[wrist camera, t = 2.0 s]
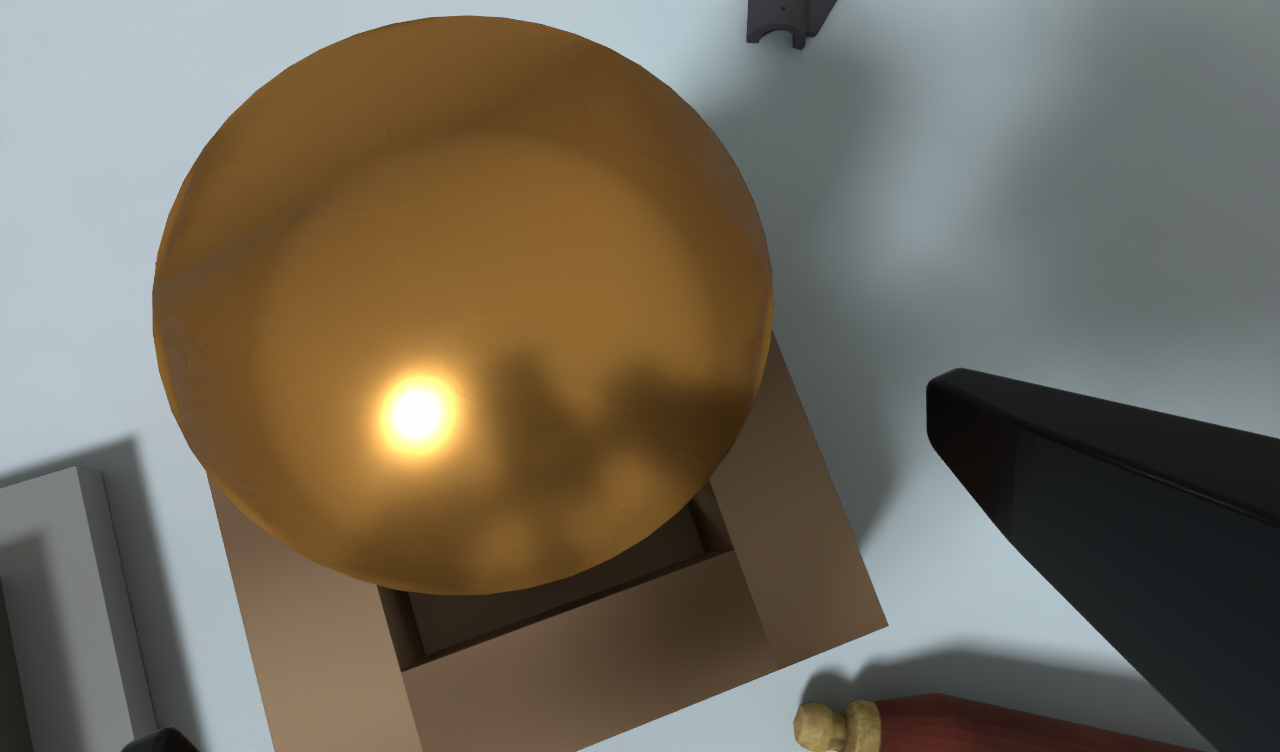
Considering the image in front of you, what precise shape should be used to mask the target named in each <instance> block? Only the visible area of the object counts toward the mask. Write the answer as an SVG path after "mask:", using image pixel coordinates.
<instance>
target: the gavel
mask: <svg viewBox="0 0 1280 752" xmlns="http://www.w3.org/2000/svg"><path fill="white" fill-rule="evenodd" d="M793 723H794V733H795V739H796V741H797V742H798V743H799V744H800V745H801V746H802V747H804V748H806V749H808V750H810V751H813V752H825V751H828V750H834V751H838V752H1203V751H1199V750H1194V749H1190V748H1185V747H1181V746H1176V745H1172V744H1167V743H1162V742H1158V741H1153V740H1149V739H1144V738H1140V737H1135V736H1130V735H1126V734H1121V733H1117V732H1112V731H1108V730H1103V729H1099V728H1094V727H1089V726H1085V725H1080V724H1076V723H1071V722H1067V721H1062V720H1057V719H1053V718H1048V717H1044V716H1039V715H1035V714H1030V713H1026V712H1021V711H1016V710H1012V709H1007V708H1003V707H998V706H994V705H989V704H985V703H980V702H975V701H971V700H966V699H962V698H957V697H953V696H948V695H943V694H937V693H934V694H927V695H919V696H912V697H904V698H897V699H889V700H882V701H874V702H870V701H865V700H861V699H858V700H855V701H852V702H850V703H849V704H848V705H847V706H846V708H845V710H844V712H843V713H842V714H838V713H834V712H833V711H832V710H831V709H830V708H829V707H827V706H825V705H822V704H818V703H808V704H805V705H803V706H800V707H799V709H798V712H797V714H796V717H795V720H794V722H793Z"/></svg>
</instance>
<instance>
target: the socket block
mask: <svg viewBox="0 0 1280 752" xmlns="http://www.w3.org/2000/svg"><path fill="white" fill-rule="evenodd" d="M155 265H156V263H155ZM206 473H207V472H206ZM207 477H208V481H209V485H210V489H211V493H212V498H213V502H214V506H215V510H216V514H217V518H218V522H219V526H220V530H221V534H222V538H223V542H224V547H225V551H226V555H227V559H228V563H229V567H230V571H231V575H232V579H233V583H234V587H235V591H236V596H237V600H238V604H239V608H240V612H241V616H242V620H243V624H244V628H245V632H246V636H247V640H248V645H249V649H250V653H251V657H252V661H253V665H254V669H255V673H256V677H257V681H258V685H259V689H260V694H261V698H262V702H263V706H264V710H265V714H266V718H267V722H268V726H269V730H270V734H271V738H272V743H273V747H274V751H275V752H576V751H578V750H581V749H583V748H586V747H588V746H591V745H593V744H596V743H598V742H601V741H603V740H606V739H608V738H611V737H613V736H616V735H618V734H621V733H623V732H626V731H628V730H631V729H633V728H636V727H638V726H641V725H643V724H646V723H648V722H650V721H653V720H655V719H658V718H660V717H663V716H665V715H668V714H670V713H673V712H675V711H678V710H680V709H683V708H685V707H688V706H690V705H693V704H695V703H698V702H700V701H703V700H705V699H708V698H710V697H713V696H715V695H718V694H720V693H723V692H725V691H728V690H730V689H733V688H735V687H738V686H740V685H743V684H745V683H748V682H750V681H753V680H755V679H758V678H760V677H763V676H765V675H768V674H770V673H772V672H775V671H777V670H780V669H782V668H785V667H787V666H790V665H792V664H795V663H797V662H800V661H802V660H805V659H807V658H810V657H812V656H815V655H817V654H820V653H822V652H825V651H827V650H830V649H832V648H835V647H837V646H840V645H842V644H845V643H847V642H850V641H852V640H855V639H857V638H860V637H862V636H865V635H867V634H870V633H872V632H875V631H877V630H880V629H882V628H885V627H887V626H889V625H888V623H887V620H886V618H885V615H884V613H883V610H882V607H881V605H880V602H879V600H878V597H877V595H876V592H875V590H874V587H873V585H872V582H871V580H870V577H869V575H868V572H867V569H866V567H865V564H864V562H863V559H862V557H861V554H860V552H859V549H858V547H857V544H856V542H855V539H854V537H853V534H852V531H851V529H850V526H849V524H848V521H847V519H846V516H845V514H844V511H843V509H842V506H841V504H840V501H839V499H838V496H837V493H836V491H835V488H834V486H833V483H832V481H831V478H830V476H829V473H828V471H827V468H826V466H825V463H824V460H823V458H822V455H821V453H820V450H819V448H818V445H817V443H816V440H815V438H814V435H813V433H812V430H811V428H810V425H809V422H808V420H807V417H806V415H805V412H804V410H803V407H802V405H801V402H800V400H799V397H798V395H797V392H796V390H795V387H794V384H793V382H792V379H791V377H790V374H789V372H788V369H787V367H786V364H785V362H784V359H783V357H782V354H781V352H780V349H779V346H778V344H777V341H776V339H775V336H774V334H773V331H772V329H771V341H770V347H769V351H768V356H767V360H766V365H765V369H764V374H763V378H762V381H761V384H760V387H759V389H758V392H757V395H756V398H755V400H754V403H753V406H752V408H751V411H750V414H749V416H748V418H747V420H746V422H745V424H744V425H743V427H742V429H741V431H740V433H739V435H738V437H737V439H736V440H735V442H734V444H733V446H732V448H731V450H730V451H729V452H728V454H727V455H726V457H725V458H724V459H723V461H722V462H721V464H720V465H719V466H718V468H717V469H716V470H715V472H714V473H713V475H712V476H711V477H710V479H709V480H708V482H707V483H706V484H705V485H704V486H703V487H702V488H701V489H700V490H699V491H698V492H697V493H696V494H695V495H694V496H693V497H692V498H691V499H690V500H689V502H688V503H687V504H686V505H685V506H684V507H683V508H682V509H681V510H680V511H679V512H678V513H676V514H675V515H674V516H673V517H671V518H670V519H669V520H668V521H666V522H665V523H664V524H663V525H662V526H660V527H659V528H658V529H657V530H655V531H654V532H653V533H652V534H650V535H649V536H648V537H646V538H645V539H643V540H641V541H640V542H638V543H637V544H635V545H633V546H632V547H630V548H628V549H627V550H625V551H623V552H622V553H620V554H618V555H617V556H615V557H613V558H612V559H610V560H607V561H605V562H603V563H601V564H598V565H596V566H594V567H591V568H589V569H587V570H585V571H582V572H580V573H578V574H575V575H573V576H571V577H567V578H564V579H560V580H557V581H553V582H550V583H546V584H543V585H539V586H536V587H532V588H528V589H521V590H515V591H508V592H501V593H494V594H488V595H434V594H426V593H417V592H409V591H401V590H395V589H391V588H387V587H383V586H380V585H376V584H372V583H368V582H364V581H360V580H357V579H353V578H351V577H349V576H346V575H344V574H341V573H339V572H337V571H334V570H332V569H329V568H327V567H324V566H322V565H320V564H317V563H315V562H313V561H311V560H309V559H308V558H306V557H304V556H303V555H301V554H299V553H297V552H296V551H294V550H292V549H291V548H289V547H287V546H286V545H284V544H282V543H280V542H279V541H277V540H276V539H274V538H273V537H272V536H271V535H269V534H268V533H267V532H266V531H264V530H263V529H262V528H261V527H259V526H258V525H257V524H256V523H254V522H253V521H252V520H251V519H249V518H248V517H247V516H246V515H244V514H243V513H242V512H241V511H240V510H239V509H238V508H237V507H236V506H235V504H234V503H233V502H232V501H231V500H230V499H229V498H228V497H227V496H226V495H225V494H224V493H223V492H222V491H221V489H220V488H219V487H218V486H217V485H216V484H215V483H214V482H213V481H212V479H211V478H210V476H209V475H208V473H207Z"/></svg>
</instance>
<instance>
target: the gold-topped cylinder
mask: <svg viewBox="0 0 1280 752" xmlns="http://www.w3.org/2000/svg"><path fill="white" fill-rule="evenodd" d="M152 305H153V337H154V343H155V349H156V355H157V361H158V368H159V373H160V376H161V379H162V382H163V385H164V389H165V392H166V395H167V398H168V401H169V404H170V407H171V411H172V413H173V415H174V417H175V419H176V421H177V423H178V425H179V427H180V429H181V431H182V433H183V435H184V437H185V439H186V441H187V443H188V445H189V447H190V449H191V450H192V452H193V453H194V455H195V456H196V457H197V459H198V460H199V462H200V463H201V465H202V466H203V468H204V469H205V470H206V472H207V473H208V475H209V476H210V478H211V479H212V481H213V482H214V483H215V484H216V485H217V486H218V487H219V488H220V489H221V491H222V492H223V493H224V494H225V495H226V496H227V497H228V498H229V499H230V500H231V501H232V502H233V503H234V504H235V506H236V507H237V508H238V509H239V510H240V511H241V512H242V513H243V514H244V515H246V516H247V517H248V518H249V519H251V520H252V521H253V522H254V523H256V524H257V525H258V526H259V527H261V528H262V529H263V530H264V531H266V532H267V533H268V534H269V535H271V536H272V537H273V538H274V539H276V540H277V541H279V542H280V543H282V544H284V545H286V546H287V547H289V548H291V549H292V550H294V551H296V552H297V553H299V554H301V555H303V556H304V557H306V558H308V559H309V560H311V561H313V562H315V563H317V564H320V565H322V566H324V567H327V568H329V569H332V570H334V571H337V572H339V573H341V574H344V575H346V576H349V577H351V578H353V579H357V580H360V581H364V582H368V583H372V584H376V585H380V586H383V587H387V588H391V589H395V590H401V591H409V592H417V593H426V594H434V595H488V594H494V593H501V592H508V591H515V590H521V589H528V588H532V587H536V586H539V585H543V584H546V583H550V582H553V581H557V580H560V579H564V578H567V577H571V576H573V575H575V574H578V573H580V572H582V571H585V570H587V569H589V568H591V567H594V566H596V565H598V564H601V563H603V562H605V561H607V560H610V559H612V558H613V557H615V556H617V555H618V554H620V553H622V552H623V551H625V550H627V549H628V548H630V547H632V546H633V545H635V544H637V543H638V542H640V541H641V540H643V539H645V538H646V537H648V536H649V535H650V534H652V533H653V532H654V531H655V530H657V529H658V528H659V527H660V526H662V525H663V524H664V523H665V522H666V521H668V520H669V519H670V518H671V517H673V516H674V515H675V514H676V513H678V512H679V511H680V510H681V509H682V508H683V507H684V506H685V505H686V504H687V503H688V502H689V500H690V499H691V498H692V497H693V496H694V495H695V494H696V493H697V492H698V491H699V490H700V489H701V488H702V487H703V486H704V485H705V484H706V483H707V482H708V480H709V479H710V477H711V476H712V475H713V473H714V472H715V470H716V469H717V468H718V466H719V465H720V464H721V462H722V461H723V459H724V458H725V457H726V455H727V454H728V452H729V451H730V450H731V448H732V446H733V444H734V442H735V440H736V439H737V437H738V435H739V433H740V431H741V429H742V427H743V425H744V424H745V422H746V420H747V418H748V416H749V414H750V411H751V408H752V406H753V403H754V400H755V398H756V395H757V392H758V389H759V387H760V384H761V381H762V378H763V374H764V369H765V365H766V360H767V356H768V351H769V347H770V341H771V329H772V317H773V289H772V270H771V265H770V259H769V254H768V249H767V243H766V238H765V234H764V230H763V227H762V224H761V221H760V218H759V215H758V212H757V209H756V206H755V203H754V200H753V198H752V196H751V194H750V192H749V190H748V188H747V186H746V184H745V181H744V179H743V177H742V175H741V173H740V171H739V169H738V167H737V166H736V164H735V163H734V161H733V160H732V158H731V156H730V155H729V153H728V152H727V150H726V149H725V147H724V146H723V144H722V143H721V141H720V139H719V138H718V137H717V136H716V135H715V133H714V132H713V131H712V130H711V129H710V127H709V126H708V125H707V124H706V123H705V121H704V120H703V119H702V118H701V117H700V116H699V114H698V113H697V112H696V111H695V110H694V109H693V108H692V107H691V106H690V105H689V104H688V103H686V102H685V101H684V100H683V99H682V98H681V97H680V96H679V95H678V94H677V93H676V92H675V91H674V90H672V89H671V88H670V87H669V86H668V85H666V84H665V83H664V82H662V81H661V80H659V79H658V78H657V77H655V76H654V75H653V74H651V73H650V72H649V71H647V70H646V69H644V68H643V67H642V66H640V65H638V64H637V63H635V62H633V61H631V60H629V59H628V58H626V57H624V56H622V55H621V54H619V53H617V52H615V51H613V50H612V49H610V48H608V47H605V46H603V45H601V44H598V43H596V42H593V41H591V40H589V39H586V38H584V37H581V36H579V35H577V34H574V33H570V32H567V31H563V30H560V29H556V28H553V27H550V26H546V25H543V24H538V23H533V22H527V21H521V20H515V19H509V18H502V17H485V16H448V17H430V18H424V19H418V20H412V21H406V22H400V23H394V24H390V25H387V26H383V27H380V28H376V29H373V30H369V31H366V32H362V33H359V34H356V35H353V36H351V37H348V38H346V39H344V40H341V41H339V42H337V43H334V44H332V45H329V46H327V47H325V48H322V49H320V50H318V51H317V52H315V53H313V54H311V55H309V56H308V57H306V58H304V59H302V60H301V61H299V62H297V63H295V64H294V65H292V66H290V67H288V68H287V69H285V70H284V71H283V72H281V73H280V74H279V75H277V76H276V77H275V78H273V79H272V80H271V81H269V82H268V83H266V84H265V85H264V86H262V87H261V88H260V89H258V90H257V91H256V92H255V93H254V94H253V95H252V96H251V97H250V98H248V99H247V100H246V101H245V102H244V103H243V104H242V105H241V106H240V107H239V108H238V109H237V110H236V111H235V112H234V113H233V114H232V115H231V116H230V117H229V118H228V119H227V120H226V121H225V122H224V124H223V125H222V126H221V127H220V129H219V130H218V131H217V132H216V134H215V135H214V136H213V137H212V138H211V140H210V141H209V142H208V143H207V145H206V146H205V147H204V149H203V150H202V152H201V153H200V155H199V157H198V158H197V160H196V162H195V163H194V165H193V166H192V168H191V170H190V171H189V173H188V175H187V176H186V178H185V179H184V181H183V184H182V186H181V188H180V190H179V193H178V195H177V197H176V200H175V202H174V204H173V206H172V209H171V211H170V213H169V215H168V219H167V222H166V226H165V229H164V233H163V236H162V240H161V243H160V247H159V250H158V254H157V262H156V269H155V277H154V284H153V291H152Z"/></svg>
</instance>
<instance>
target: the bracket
mask: <svg viewBox="0 0 1280 752" xmlns="http://www.w3.org/2000/svg"><path fill="white" fill-rule="evenodd" d="M836 1H837V0H748V19H747V42H748V43H759V38H760V37H761V36H762V34H764V33H766V32H767V31H770V30H774V29H782V30H787V31H789V32H790V33H792V34H793V48H796V49H799V50H802V49H803V48H804V45H805V36H807V37H814V36H816V34H817V33H818V31H819V30H820V28H821V26H822V24H823V23H824V21H825V19H826V17H827V16H828V14H829V12H830V11H831V9H832V7H833V6H834V4H835V2H836Z"/></svg>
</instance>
